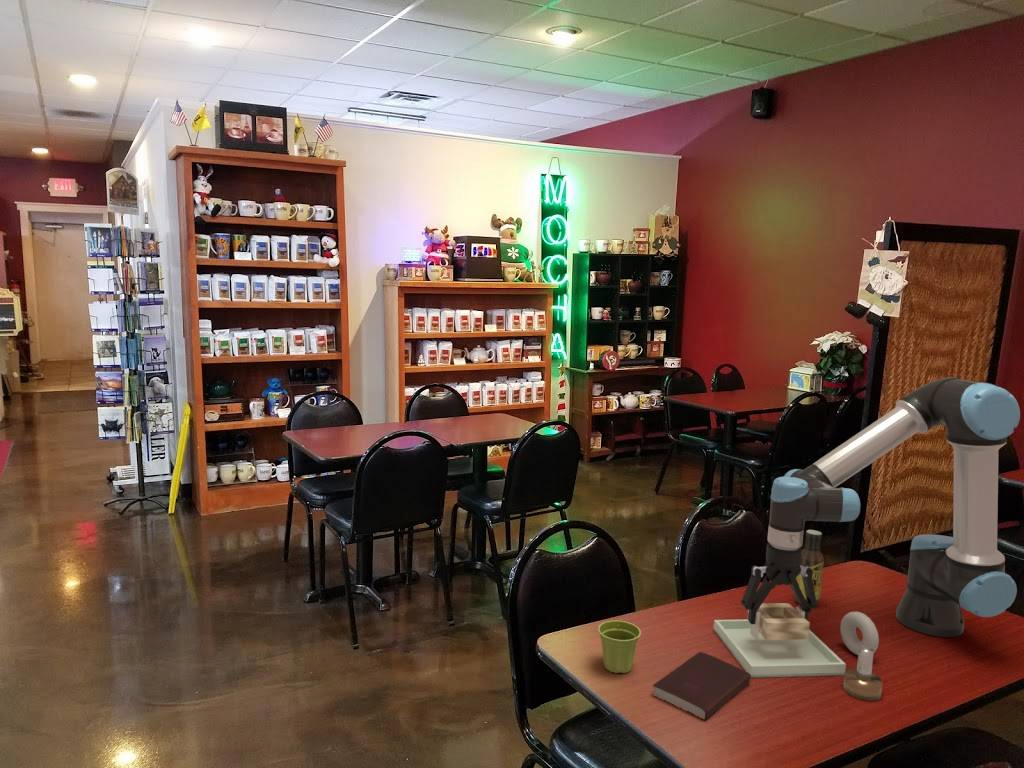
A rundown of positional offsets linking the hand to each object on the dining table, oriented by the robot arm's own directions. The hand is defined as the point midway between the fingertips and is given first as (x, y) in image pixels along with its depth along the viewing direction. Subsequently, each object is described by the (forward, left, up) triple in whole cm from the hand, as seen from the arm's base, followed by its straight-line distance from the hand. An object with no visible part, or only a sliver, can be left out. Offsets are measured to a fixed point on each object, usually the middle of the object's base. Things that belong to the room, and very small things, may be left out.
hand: (776, 636), depth 166 cm
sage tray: (0, 0, -4) cm, 4 cm away
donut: (-19, +2, -4) cm, 20 cm away
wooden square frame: (0, 0, +2) cm, 2 cm away
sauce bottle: (-21, -25, -4) cm, 33 cm away
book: (+23, +15, -5) cm, 28 cm away
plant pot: (+39, +5, -4) cm, 39 cm away
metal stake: (-11, +17, -4) cm, 21 cm away
